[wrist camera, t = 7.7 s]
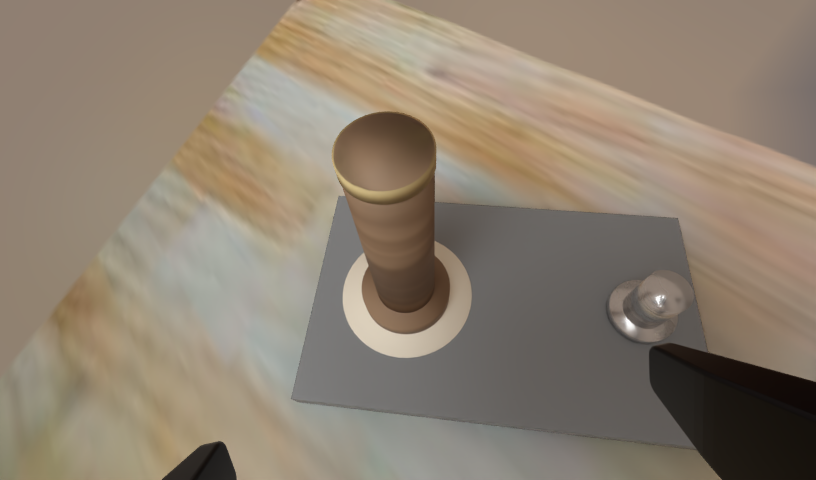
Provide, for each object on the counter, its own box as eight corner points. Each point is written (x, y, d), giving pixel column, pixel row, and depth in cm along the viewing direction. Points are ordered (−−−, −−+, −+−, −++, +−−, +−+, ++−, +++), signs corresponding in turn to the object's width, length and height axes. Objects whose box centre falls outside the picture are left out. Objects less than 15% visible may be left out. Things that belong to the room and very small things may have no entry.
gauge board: (713, 451, 19) (732, 451, 18) (298, 402, 21) (290, 398, 20) (667, 228, 25) (679, 216, 24) (342, 206, 27) (338, 194, 26)
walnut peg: (432, 347, 21) (430, 236, 11) (350, 316, 22) (278, 189, 12) (460, 269, 23) (481, 113, 13) (384, 244, 24) (347, 81, 14)
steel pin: (677, 347, 20) (716, 329, 17) (609, 341, 21) (637, 321, 18) (665, 287, 22) (699, 261, 19) (602, 282, 22) (627, 255, 19)
